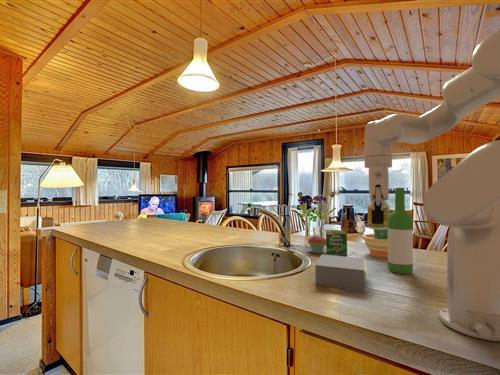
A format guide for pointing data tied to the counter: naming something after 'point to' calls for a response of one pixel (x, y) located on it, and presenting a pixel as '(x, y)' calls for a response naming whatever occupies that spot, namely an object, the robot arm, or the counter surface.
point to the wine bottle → (400, 237)
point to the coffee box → (336, 242)
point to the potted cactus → (378, 240)
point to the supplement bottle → (370, 225)
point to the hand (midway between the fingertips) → (377, 221)
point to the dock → (341, 272)
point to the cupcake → (317, 243)
